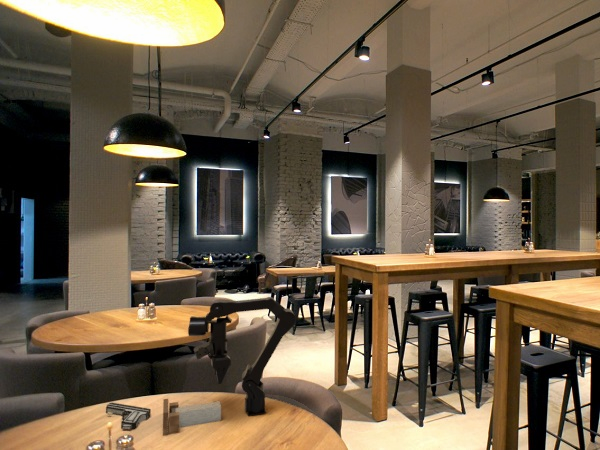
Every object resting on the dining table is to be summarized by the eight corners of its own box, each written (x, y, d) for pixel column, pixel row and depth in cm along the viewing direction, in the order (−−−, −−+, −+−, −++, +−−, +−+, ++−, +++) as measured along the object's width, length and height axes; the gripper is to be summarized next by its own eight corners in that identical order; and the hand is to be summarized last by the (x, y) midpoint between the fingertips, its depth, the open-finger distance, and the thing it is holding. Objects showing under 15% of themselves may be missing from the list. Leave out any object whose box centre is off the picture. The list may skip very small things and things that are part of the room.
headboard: (178, 417, 130) (178, 397, 130) (179, 432, 119) (179, 410, 120) (163, 419, 128) (163, 399, 128) (162, 435, 118) (163, 413, 118)
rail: (219, 415, 131) (219, 400, 131) (221, 420, 127) (221, 405, 127) (171, 423, 126) (171, 407, 126) (171, 429, 122) (171, 413, 122)
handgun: (130, 424, 120) (155, 408, 131) (84, 416, 125) (112, 401, 137) (130, 434, 120) (155, 417, 131) (84, 425, 125) (112, 409, 137)
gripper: (193, 331, 140) (193, 373, 139) (197, 344, 122) (196, 392, 122) (223, 328, 144) (223, 369, 143) (231, 341, 126) (230, 387, 125)
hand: (218, 379), depth 133 cm, fingers open, 9 cm apart
